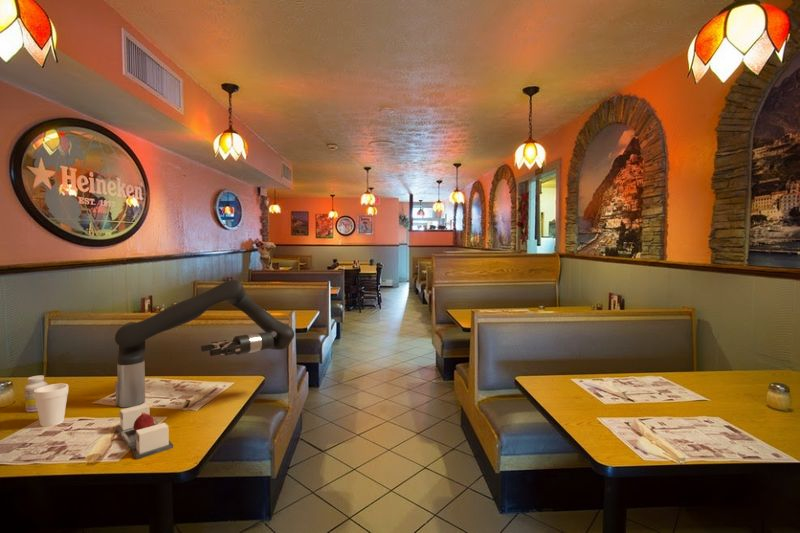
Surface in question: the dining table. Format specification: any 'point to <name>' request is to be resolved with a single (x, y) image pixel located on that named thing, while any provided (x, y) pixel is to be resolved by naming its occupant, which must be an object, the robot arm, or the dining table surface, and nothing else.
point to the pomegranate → (143, 421)
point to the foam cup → (51, 403)
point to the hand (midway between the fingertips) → (205, 350)
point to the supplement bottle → (32, 392)
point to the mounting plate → (131, 442)
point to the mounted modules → (144, 429)
